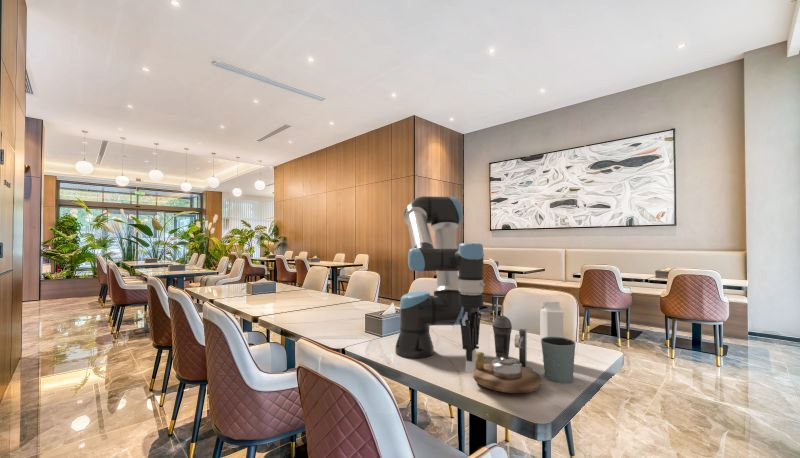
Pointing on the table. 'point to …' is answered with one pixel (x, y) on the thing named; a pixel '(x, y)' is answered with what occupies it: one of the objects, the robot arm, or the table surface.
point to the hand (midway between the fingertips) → (470, 370)
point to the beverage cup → (502, 335)
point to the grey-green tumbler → (558, 359)
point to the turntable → (523, 385)
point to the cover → (506, 368)
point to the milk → (550, 322)
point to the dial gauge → (522, 347)
